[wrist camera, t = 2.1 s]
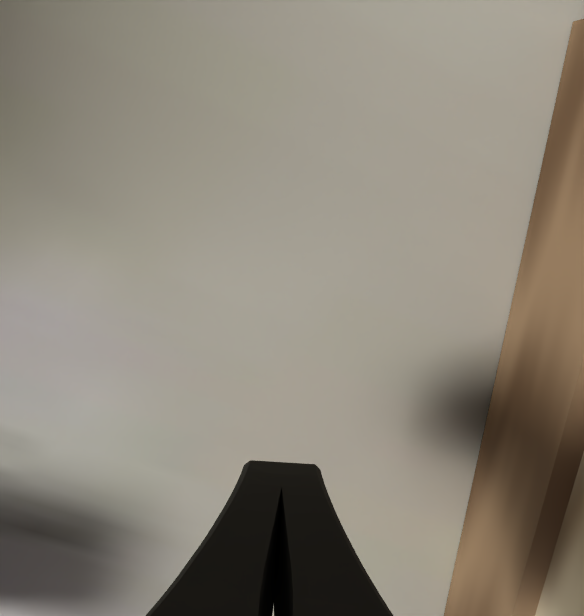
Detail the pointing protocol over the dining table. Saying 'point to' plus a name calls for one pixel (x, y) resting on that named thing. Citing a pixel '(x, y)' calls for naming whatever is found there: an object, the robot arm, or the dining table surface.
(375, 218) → the dining table surface
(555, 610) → the birch block
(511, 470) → the board
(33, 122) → the dining table surface
